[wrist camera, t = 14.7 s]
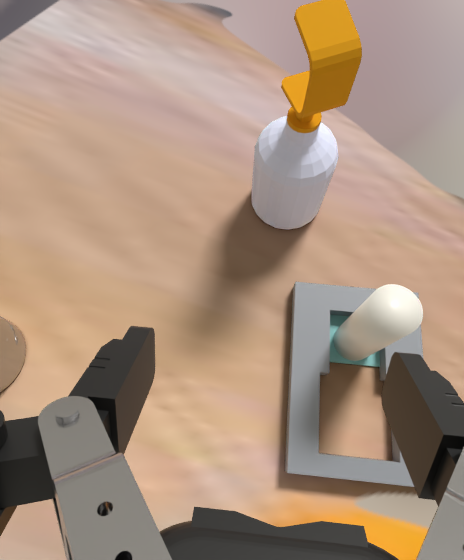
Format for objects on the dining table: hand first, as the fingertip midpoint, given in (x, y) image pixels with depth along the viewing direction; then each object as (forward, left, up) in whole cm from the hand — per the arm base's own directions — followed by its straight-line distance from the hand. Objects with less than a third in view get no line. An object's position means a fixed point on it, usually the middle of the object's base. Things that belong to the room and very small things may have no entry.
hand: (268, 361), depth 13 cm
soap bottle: (+21, +16, -31) cm, 41 cm away
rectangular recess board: (+11, -5, -31) cm, 33 cm away
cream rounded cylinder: (+14, -3, -30) cm, 34 cm away
